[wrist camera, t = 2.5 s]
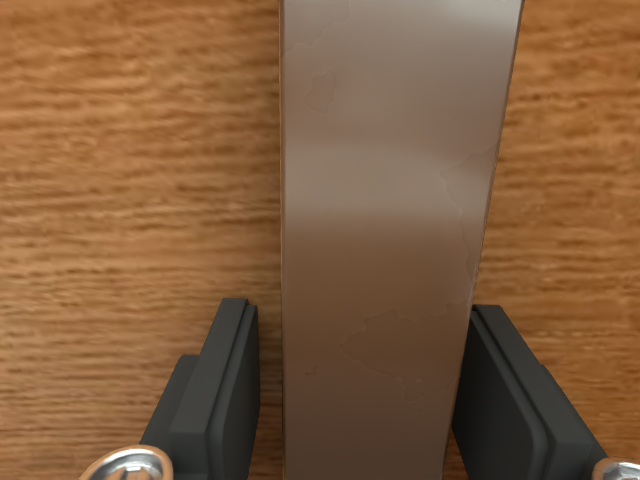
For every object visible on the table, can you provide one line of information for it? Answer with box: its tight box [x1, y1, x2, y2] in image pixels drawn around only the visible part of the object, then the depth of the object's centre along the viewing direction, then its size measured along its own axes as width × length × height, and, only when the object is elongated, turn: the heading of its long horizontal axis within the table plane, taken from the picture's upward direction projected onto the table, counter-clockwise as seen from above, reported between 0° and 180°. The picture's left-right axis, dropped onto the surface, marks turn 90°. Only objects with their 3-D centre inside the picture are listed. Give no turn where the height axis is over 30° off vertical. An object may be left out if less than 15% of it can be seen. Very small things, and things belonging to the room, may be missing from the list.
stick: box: [278, 0, 525, 480], centre depth 10 cm, size 16×3×3 cm, turn 179°
